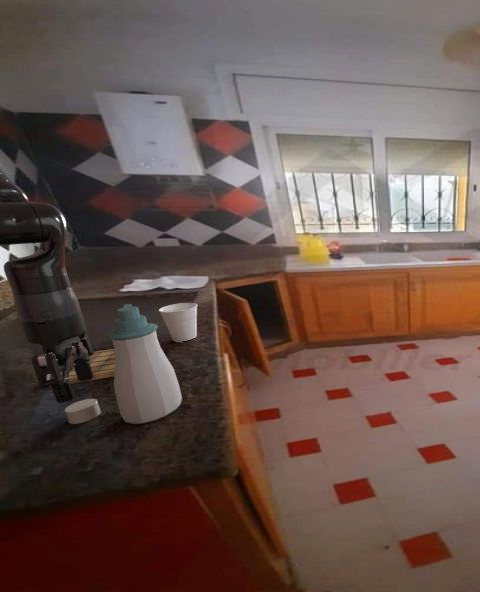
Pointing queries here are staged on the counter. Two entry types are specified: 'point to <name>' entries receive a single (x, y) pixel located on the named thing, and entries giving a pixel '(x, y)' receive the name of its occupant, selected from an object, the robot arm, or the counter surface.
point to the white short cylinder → (82, 411)
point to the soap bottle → (141, 370)
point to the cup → (180, 320)
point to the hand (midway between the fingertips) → (77, 389)
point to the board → (98, 366)
